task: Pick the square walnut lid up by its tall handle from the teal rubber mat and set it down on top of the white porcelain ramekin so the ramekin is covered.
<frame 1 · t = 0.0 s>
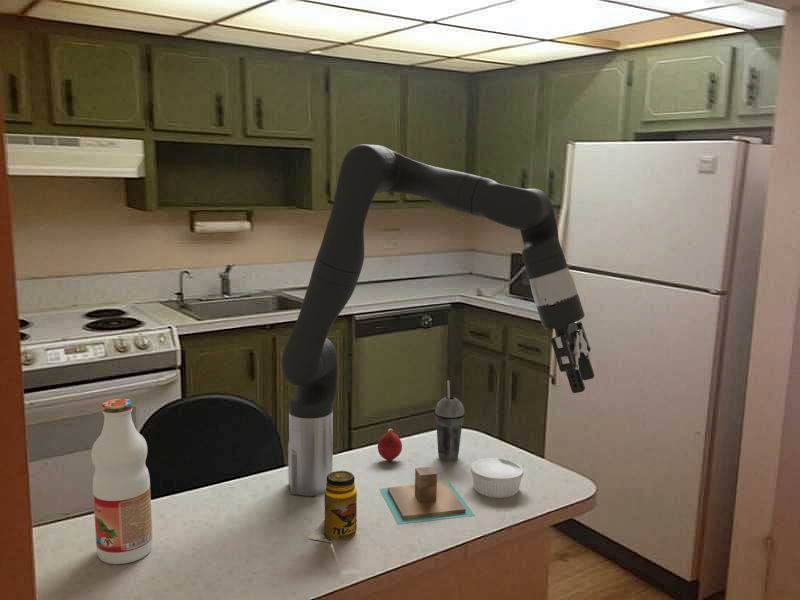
hand: (584, 385, 126), 31 cm above the counter, tool tilted 20°, fingers open, 8 cm apart
condiment: (336, 534, 136), on the counter
beverage cup: (448, 460, 172), on the counter
ramekin: (496, 491, 156), on the counter
pomegranate: (389, 462, 170), on the counter
lid: (425, 501, 149), resting on mat
fruit juice: (125, 552, 129), on the counter
mat: (425, 503, 149), on the counter
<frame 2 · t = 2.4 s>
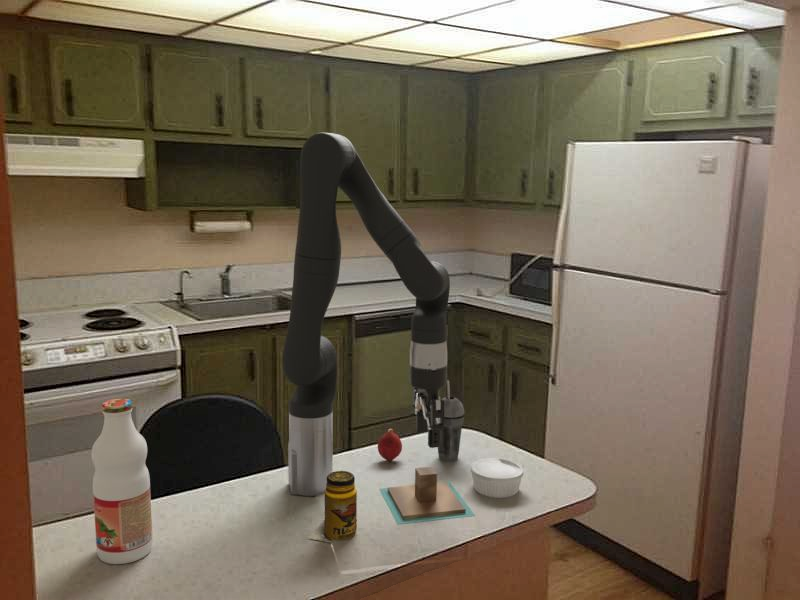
hand: (427, 439, 146), 14 cm above the counter, tool pointing down, fingers open, 8 cm apart
nothing on the counter moved.
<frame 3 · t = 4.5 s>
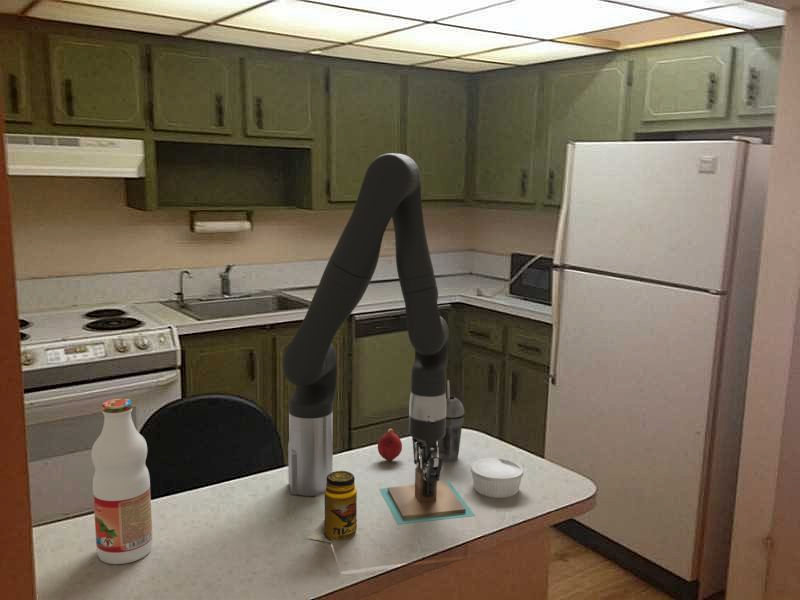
hand: (425, 491, 149), 3 cm above the counter, tool pointing down, fingers closed on lid, 3 cm apart
lid: (425, 501, 149), resting on mat, touching gripper
everything else where it was.
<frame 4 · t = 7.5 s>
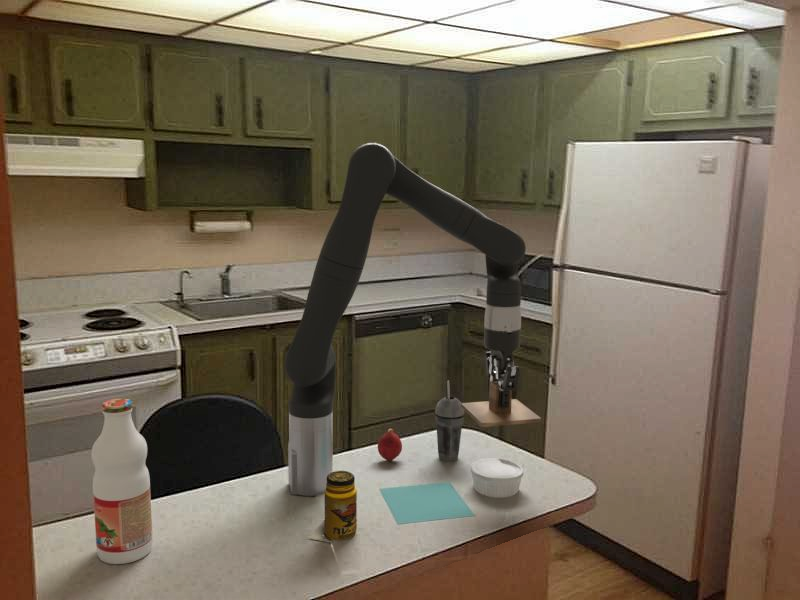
hand: (500, 404, 152), 20 cm above the counter, tool pointing down, fingers closed on lid, 3 cm apart
lid: (499, 414, 153), point 17 cm above the counter, touching gripper
everything else where it was.
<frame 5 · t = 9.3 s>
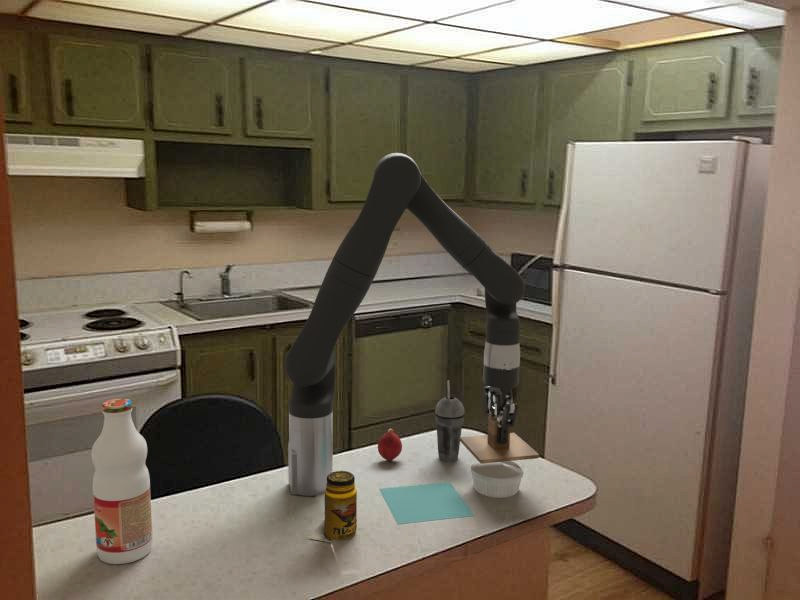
hand: (498, 439, 154), 12 cm above the counter, tool pointing down, fingers closed on lid, 3 cm apart
lid: (498, 449, 154), point 9 cm above the counter, touching gripper
everything else where it was.
when the fingers open (9 cm above the counter, at t = 10.8 s): lid drops 1 cm, resting on ramekin.
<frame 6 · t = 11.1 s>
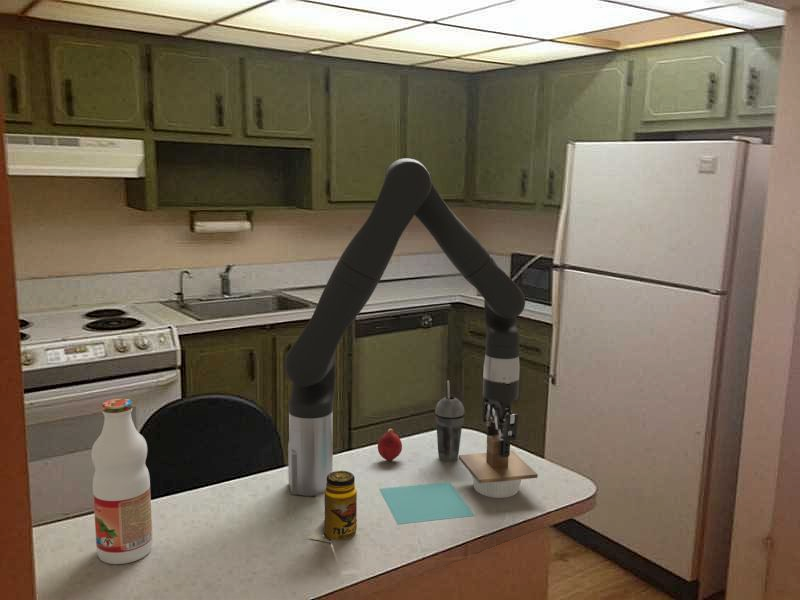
hand: (497, 450, 155), 9 cm above the counter, tool pointing down, fingers open, 6 cm apart
ramekin: (496, 491, 156), on the counter, touching lid
lid: (496, 467, 155), point 5 cm above the counter, touching ramekin
everything else where it was.
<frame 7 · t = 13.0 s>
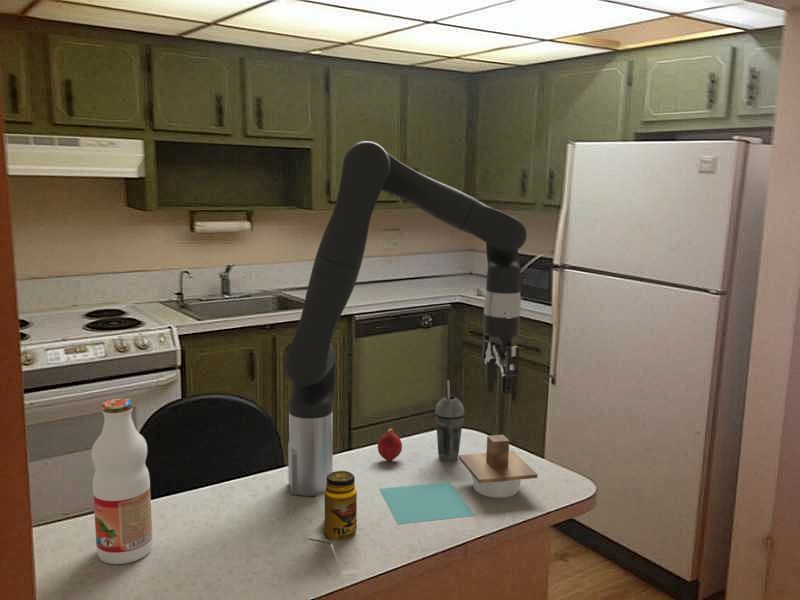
hand: (498, 387, 152), 23 cm above the counter, tool pointing down, fingers open, 8 cm apart
nothing on the counter moved.
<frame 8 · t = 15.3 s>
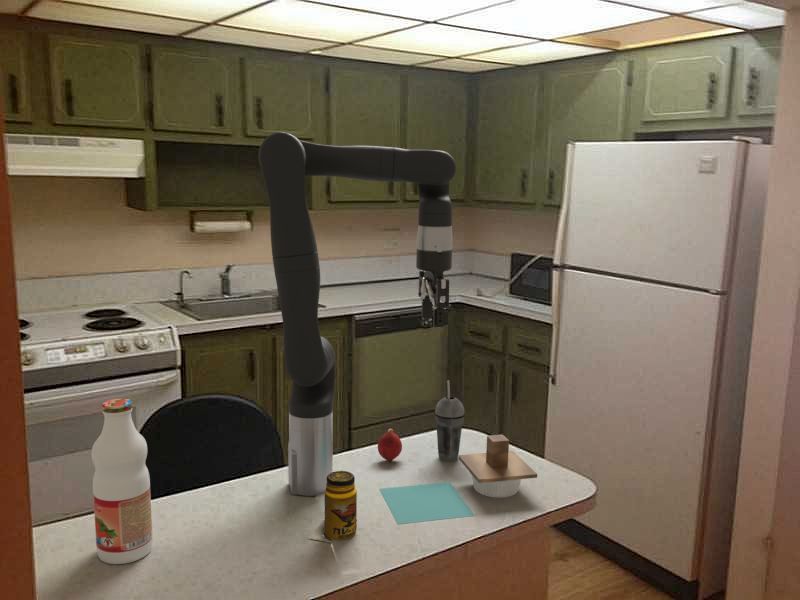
hand: (432, 322, 154), 36 cm above the counter, tool pointing down, fingers open, 8 cm apart
nothing on the counter moved.
at the end: lid 0.1 cm off-centre on the ramekin, point 5.4 cm above the ramekin's base; lid tilted 0°; the gripper is holding nothing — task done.
